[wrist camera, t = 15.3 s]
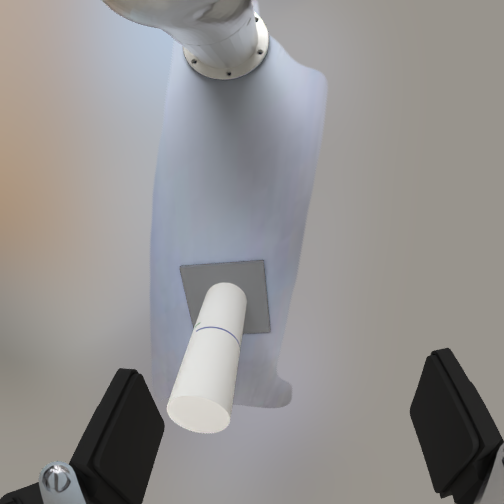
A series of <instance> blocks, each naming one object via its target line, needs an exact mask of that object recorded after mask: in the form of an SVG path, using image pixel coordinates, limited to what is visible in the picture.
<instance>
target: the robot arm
mask: <svg viewBox="0 0 504 504" xmlns="http://www.w3.org/2000/svg"><path fill="white" fill-rule="evenodd" d="M102 1H103V2H104V3H105V4H106V5H107V6H108V7H109V8H110V9H111V10H113V11H114V12H116V13H117V14H119V15H120V16H122V17H124V18H126V19H128V20H130V21H133V22H135V23H138V24H141V25H145V26H149V27H154V28H159V29H162V30H163V31H165V32H166V33H168V34H169V35H170V36H171V37H172V38H174V39H175V40H176V41H177V42H178V43H180V44H181V45H182V46H183V52H184V55H185V58H186V60H187V61H188V63H189V64H190V65H191V67H192V68H194V69H195V70H196V71H197V72H199V73H200V74H202V75H204V76H206V77H209V78H213V79H219V80H228V79H235V78H238V77H241V76H244V75H246V74H248V73H249V72H251V71H252V70H254V69H255V68H256V67H257V66H258V65H259V64H260V63H261V62H262V60H263V59H264V57H265V55H266V53H267V51H268V46H269V34H268V30H267V27H266V25H265V23H264V21H263V20H262V19H261V17H260V16H259V15H258V14H257V13H255V12H254V9H253V3H252V0H102ZM255 20H257V21H258V22H256V21H255ZM259 52H261V53H262V54H261V55H259ZM195 61H197V63H196V64H194V62H195ZM228 73H231V75H230V76H228ZM410 416H411V419H412V422H413V425H414V428H415V430H416V434H417V436H418V439H419V442H420V445H421V448H422V452H423V455H424V458H425V461H426V464H427V467H428V471H429V474H430V477H431V480H432V484H433V487H434V490H435V492H436V493H440V497H441V498H445V497H447V496H450V495H453V498H454V502H455V504H504V441H503V439H502V437H501V435H500V433H499V431H498V429H497V427H496V425H495V423H494V421H493V419H492V417H491V415H490V413H489V411H488V410H487V408H486V406H485V404H484V402H483V400H482V399H481V397H480V395H479V393H478V392H477V390H476V388H475V386H474V385H473V384H472V382H470V381H469V379H468V377H467V376H466V374H465V372H464V371H463V369H462V367H461V366H460V364H459V362H458V361H457V359H456V358H455V356H454V354H453V353H452V351H451V350H450V349H449V348H445V349H440V350H436V351H432V353H431V355H430V356H428V357H427V358H426V362H425V365H424V368H423V371H422V375H421V378H420V381H419V384H418V387H417V390H416V393H415V396H414V399H413V402H412V404H411V407H410ZM163 432H164V421H163V419H162V417H161V415H160V413H159V411H158V409H157V407H156V405H155V402H154V400H153V398H152V396H151V394H150V392H149V389H148V387H147V385H146V383H145V380H144V378H143V376H142V375H141V374H139V373H138V372H137V370H135V369H122V368H120V369H119V370H118V371H117V372H116V374H115V376H114V378H113V380H112V381H111V383H110V386H109V387H108V389H107V391H106V393H105V395H104V397H103V398H102V400H101V402H100V404H99V406H98V407H97V409H96V410H95V412H94V414H93V416H92V418H91V420H90V422H89V424H88V426H87V428H86V430H85V432H84V434H83V436H82V438H81V440H80V442H79V444H78V446H77V448H76V450H75V452H74V454H73V456H72V458H71V461H70V463H69V464H67V463H64V462H60V461H56V462H52V463H50V464H48V465H46V466H45V467H44V468H43V469H42V471H41V473H40V475H39V482H37V483H35V484H32V485H30V486H27V487H24V488H21V489H19V490H16V491H13V492H10V493H7V494H6V495H4V496H3V497H2V498H1V499H0V504H142V501H143V498H144V495H145V491H146V488H147V485H148V481H149V478H150V475H151V471H152V468H153V464H154V461H155V458H156V455H157V452H158V448H159V445H160V442H161V439H162V436H163Z"/></svg>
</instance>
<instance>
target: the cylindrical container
mask: <svg viewBox="0 0 504 504" xmlns="http://www.w3.org/2000/svg"><path fill="white" fill-rule="evenodd" d="M246 305H247V299H246V295H245V293H244V292H243V291H242V290H241V289H240V288H239V287H238V286H236V285H234V284H231V283H225V282H223V283H218V284H215V285H213V286H212V287H211V288H210V289H209V290H208V292H207V294H206V296H205V299H204V302H203V305H202V307H201V310H200V313H199V316H198V318H197V321H196V324H195V327H194V330H193V332H192V335H191V338H190V341H189V344H188V347H187V349H186V352H185V355H184V358H183V361H182V364H181V366H180V369H179V372H178V375H177V378H176V381H175V384H174V387H173V390H172V393H171V395H170V398H169V401H168V405H167V413H168V415H169V417H170V418H171V419H172V420H173V421H174V422H175V423H176V424H178V425H179V426H181V427H183V428H185V429H187V430H190V431H193V432H198V433H216V432H219V431H222V430H224V429H225V428H226V427H227V426H228V425H229V423H230V417H231V411H232V404H233V397H234V390H235V383H236V376H237V369H238V362H239V355H240V348H241V341H242V333H243V326H244V319H245V312H246Z"/></svg>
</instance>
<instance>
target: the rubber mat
mask: <svg viewBox="0 0 504 504" xmlns="http://www.w3.org/2000/svg"><path fill="white" fill-rule="evenodd" d="M180 272H181V277H182V281H183V286H184V290H185V294H186V299H187V303H188V307H189V311H190V316H191V320H192V324H193V328H194V327H195V324H196V321H197V318H198V316H199V313H200V310H201V307H202V305H203V302H204V299H205V296H206V294H207V292H208V290H209V289H210V288H211V287H212V286H213V285H215V284H218V283H223V282H225V283H231V284H234V285H236V286H238V287H239V288H240V289H241V290H242V291H243V292H244V293H245V295H246V299H247V305H246V312H245V319H244V326H243V333H242V334H244V333H264V332H270V322H269V312H268V301H267V291H266V281H265V270H264V260H257V261H243V262H229V263H215V264H200V265H185V266H180Z"/></svg>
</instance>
